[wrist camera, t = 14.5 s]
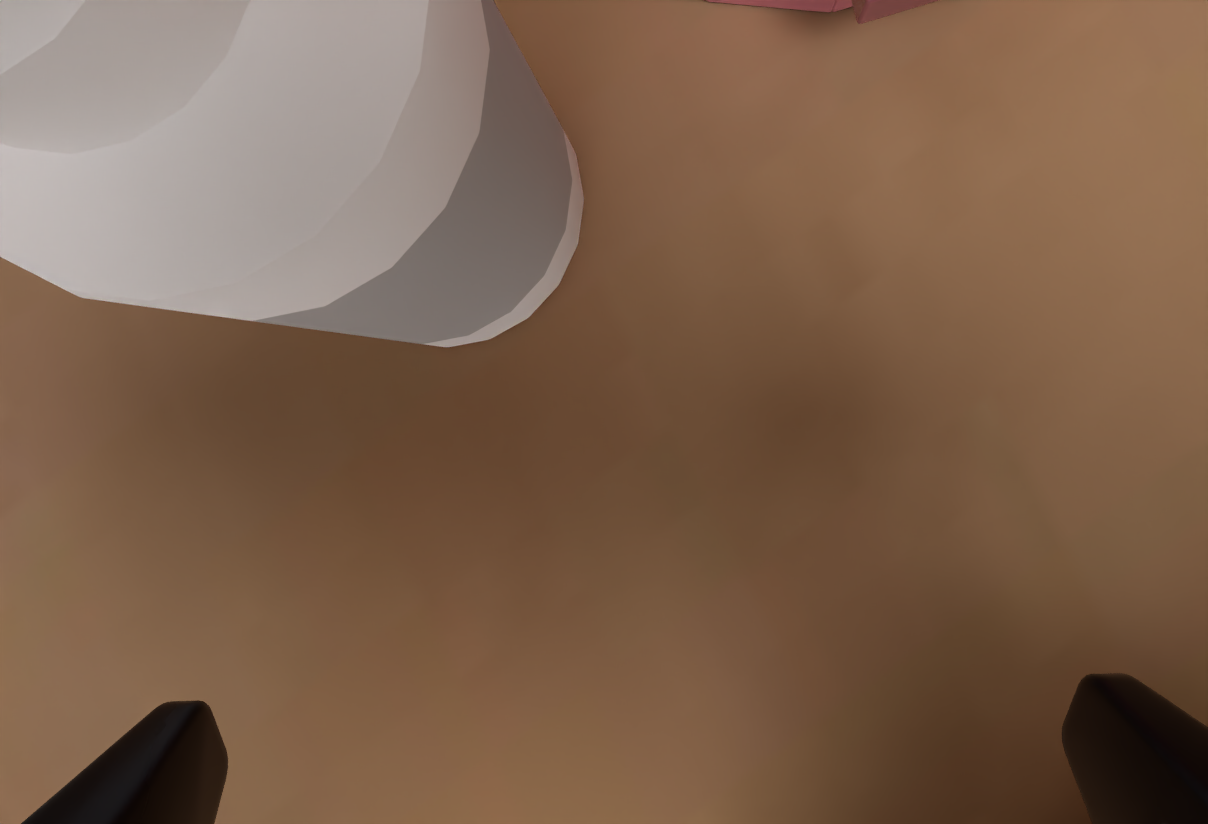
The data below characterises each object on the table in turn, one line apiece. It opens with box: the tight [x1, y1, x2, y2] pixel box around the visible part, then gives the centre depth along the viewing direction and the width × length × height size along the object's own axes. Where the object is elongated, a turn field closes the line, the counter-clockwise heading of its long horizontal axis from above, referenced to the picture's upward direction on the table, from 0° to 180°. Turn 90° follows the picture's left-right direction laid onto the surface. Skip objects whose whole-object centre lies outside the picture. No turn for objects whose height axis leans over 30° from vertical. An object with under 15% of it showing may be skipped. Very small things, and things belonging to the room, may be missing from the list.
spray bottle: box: [0, 0, 584, 348], centre depth 11 cm, size 7×7×18 cm
